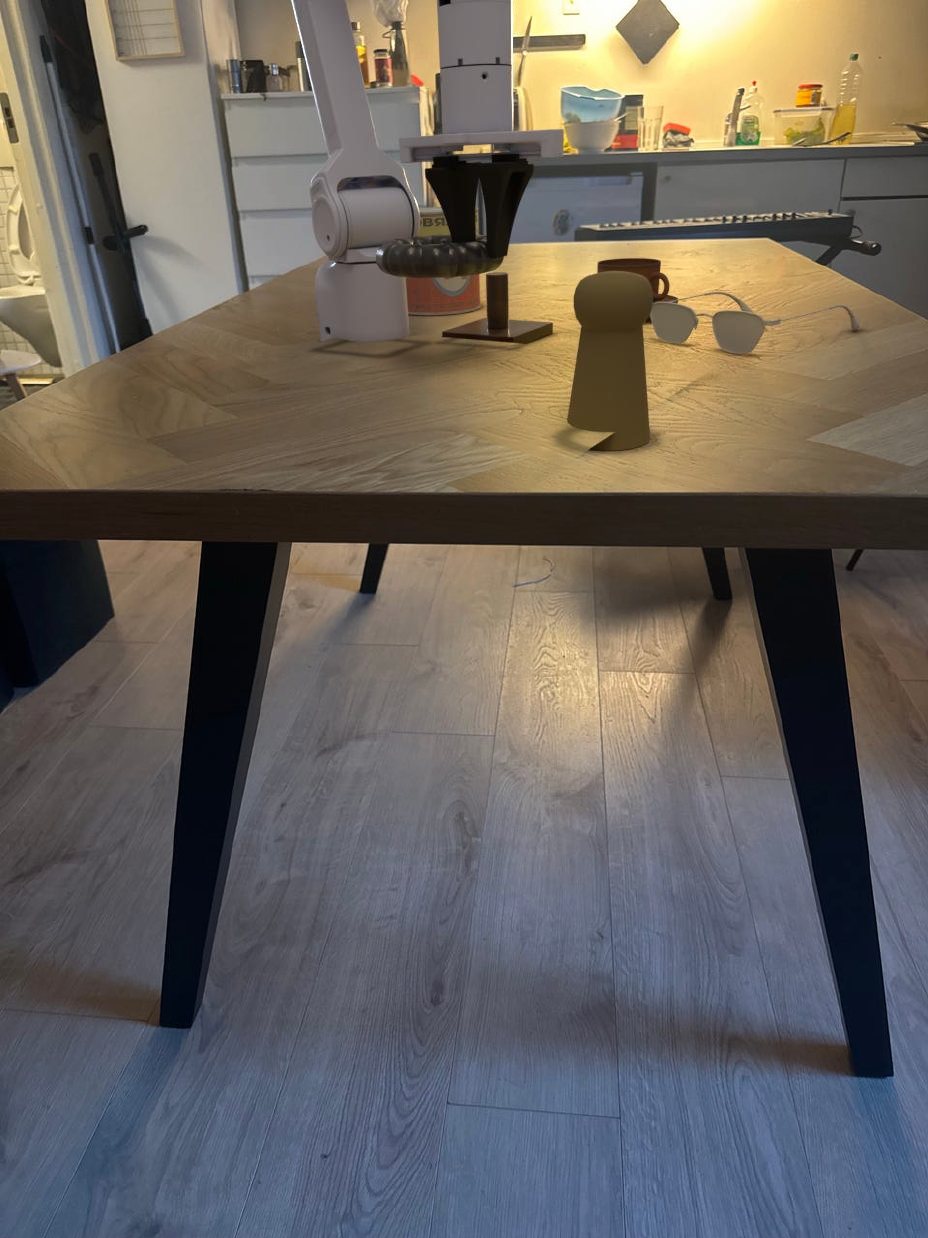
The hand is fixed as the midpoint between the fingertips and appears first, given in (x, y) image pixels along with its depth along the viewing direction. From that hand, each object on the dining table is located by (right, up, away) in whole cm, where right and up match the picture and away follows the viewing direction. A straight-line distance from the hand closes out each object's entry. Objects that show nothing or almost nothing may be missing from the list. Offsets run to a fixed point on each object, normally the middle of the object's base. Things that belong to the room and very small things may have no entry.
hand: (481, 256), depth 73 cm
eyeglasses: (+29, -1, +17) cm, 34 cm away
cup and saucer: (+18, +5, +30) cm, 36 cm away
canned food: (-5, +10, +41) cm, 43 cm away
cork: (+9, -18, -12) cm, 24 cm away
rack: (+2, 0, +21) cm, 22 cm away
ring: (-4, +1, +2) cm, 4 cm away
